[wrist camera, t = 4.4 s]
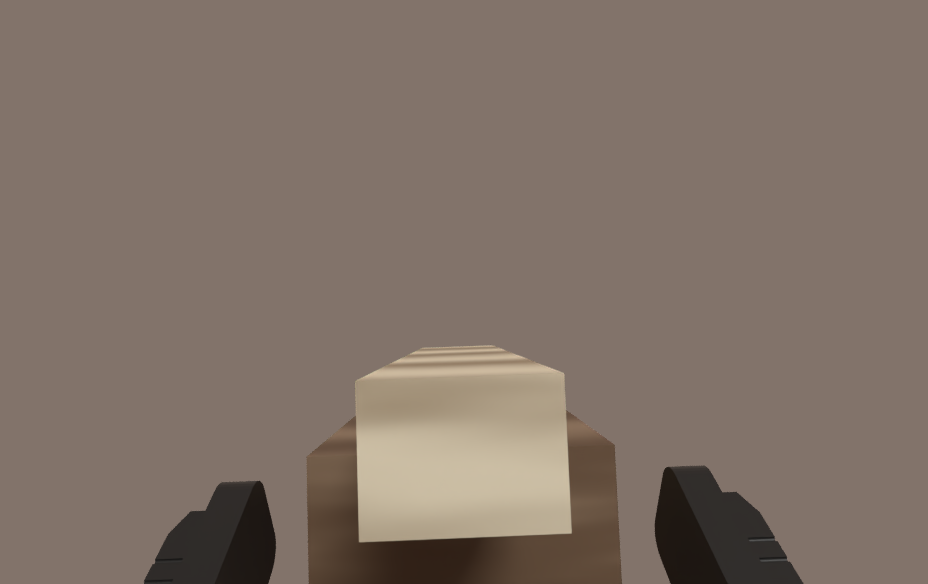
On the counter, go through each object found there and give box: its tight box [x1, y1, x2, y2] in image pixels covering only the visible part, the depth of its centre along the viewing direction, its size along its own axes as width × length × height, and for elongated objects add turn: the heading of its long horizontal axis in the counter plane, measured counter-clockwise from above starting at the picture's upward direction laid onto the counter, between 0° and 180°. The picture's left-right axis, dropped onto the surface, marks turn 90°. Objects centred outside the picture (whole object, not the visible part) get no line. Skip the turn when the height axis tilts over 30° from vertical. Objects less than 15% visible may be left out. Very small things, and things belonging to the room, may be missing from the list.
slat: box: [355, 346, 572, 542], centre depth 22 cm, size 22×4×3 cm, turn 1°
